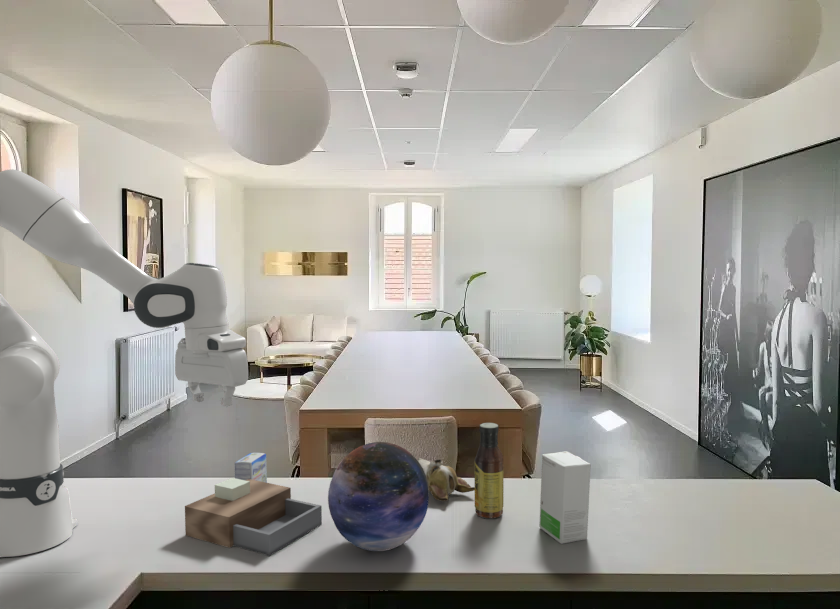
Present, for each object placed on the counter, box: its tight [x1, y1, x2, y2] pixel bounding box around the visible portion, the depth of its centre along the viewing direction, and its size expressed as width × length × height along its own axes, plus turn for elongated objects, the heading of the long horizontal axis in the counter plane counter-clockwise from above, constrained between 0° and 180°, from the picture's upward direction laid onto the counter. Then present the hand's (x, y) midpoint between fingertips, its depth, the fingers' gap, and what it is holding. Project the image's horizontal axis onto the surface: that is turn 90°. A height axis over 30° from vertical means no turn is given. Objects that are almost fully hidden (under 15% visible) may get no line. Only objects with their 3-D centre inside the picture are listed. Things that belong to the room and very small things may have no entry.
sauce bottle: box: [473, 422, 505, 519], centre depth 134 cm, size 7×6×20 cm
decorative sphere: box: [327, 441, 430, 552], centre depth 119 cm, size 19×20×20 cm
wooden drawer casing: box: [184, 479, 292, 549], centre depth 130 cm, size 12×18×6 cm, turn 152°
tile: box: [214, 477, 250, 501], centre depth 130 cm, size 5×5×2 cm
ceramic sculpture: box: [417, 457, 475, 502], centre depth 147 cm, size 11×9×15 cm
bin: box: [233, 498, 323, 557], centre depth 125 cm, size 9×16×4 cm, turn 152°
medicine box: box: [234, 452, 268, 483], centre depth 148 cm, size 8×4×9 cm, turn 168°
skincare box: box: [539, 450, 591, 545], centre depth 125 cm, size 8×7×16 cm
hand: (212, 403), depth 133 cm, fingers open, 8 cm apart
